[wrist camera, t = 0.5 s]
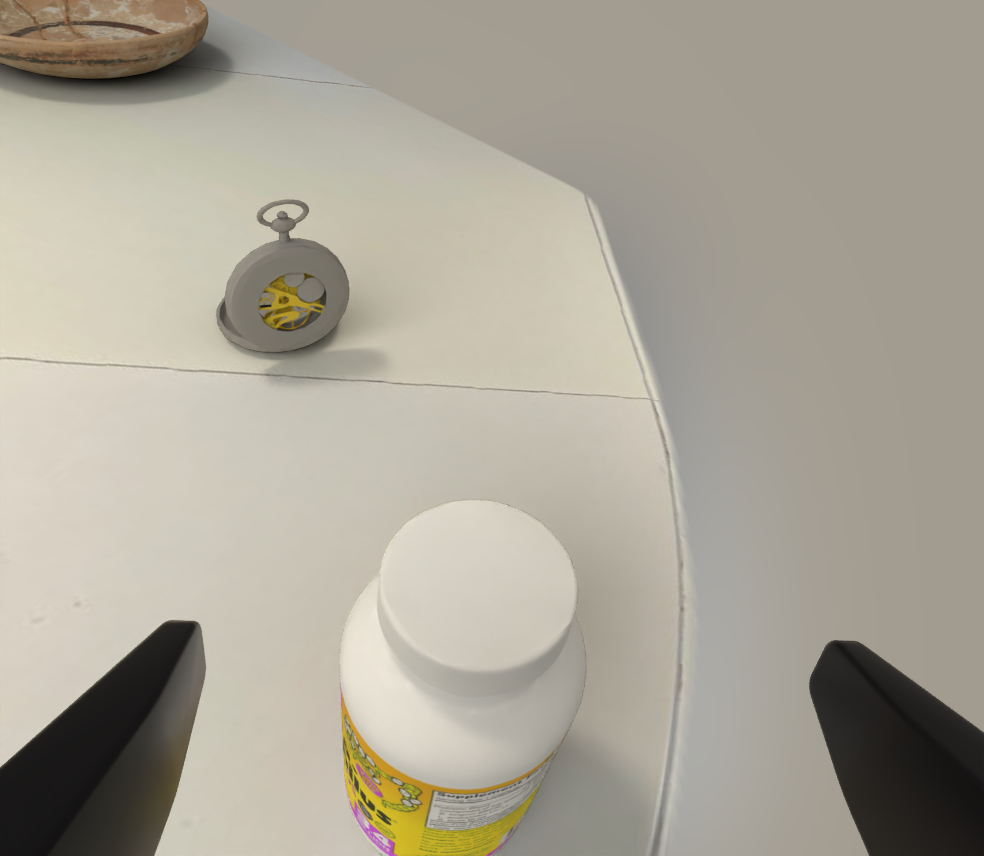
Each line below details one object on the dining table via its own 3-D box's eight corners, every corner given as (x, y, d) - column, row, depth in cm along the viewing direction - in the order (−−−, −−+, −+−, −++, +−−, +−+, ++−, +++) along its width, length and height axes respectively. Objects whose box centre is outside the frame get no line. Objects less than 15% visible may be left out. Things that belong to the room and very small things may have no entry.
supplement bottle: (337, 701, 26) (324, 478, 17) (503, 672, 28) (568, 456, 19) (354, 905, 22) (349, 745, 13) (552, 856, 23) (667, 684, 15)
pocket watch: (267, 282, 45) (250, 128, 38) (376, 328, 43) (378, 174, 36) (174, 344, 40) (134, 177, 33) (293, 399, 38) (278, 234, 31)
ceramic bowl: (171, 18, 81) (163, -31, 78) (250, 89, 69) (244, 34, 65) (-65, 27, 70) (-87, -31, 66) (-22, 113, 57) (-47, 48, 54)
